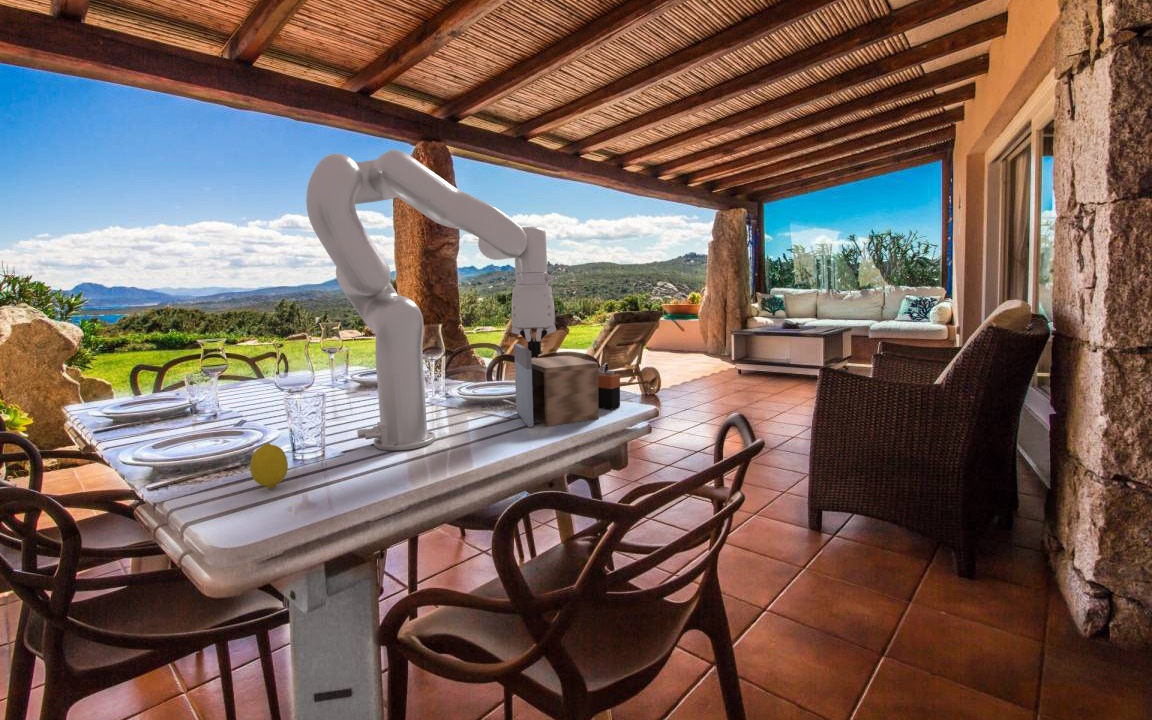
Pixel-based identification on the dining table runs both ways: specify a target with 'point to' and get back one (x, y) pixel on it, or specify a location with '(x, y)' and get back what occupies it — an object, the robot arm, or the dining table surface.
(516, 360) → the door
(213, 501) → the dining table surface
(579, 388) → the cubby
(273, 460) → the lemon
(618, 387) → the battery
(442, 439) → the dining table surface
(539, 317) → the robot arm
